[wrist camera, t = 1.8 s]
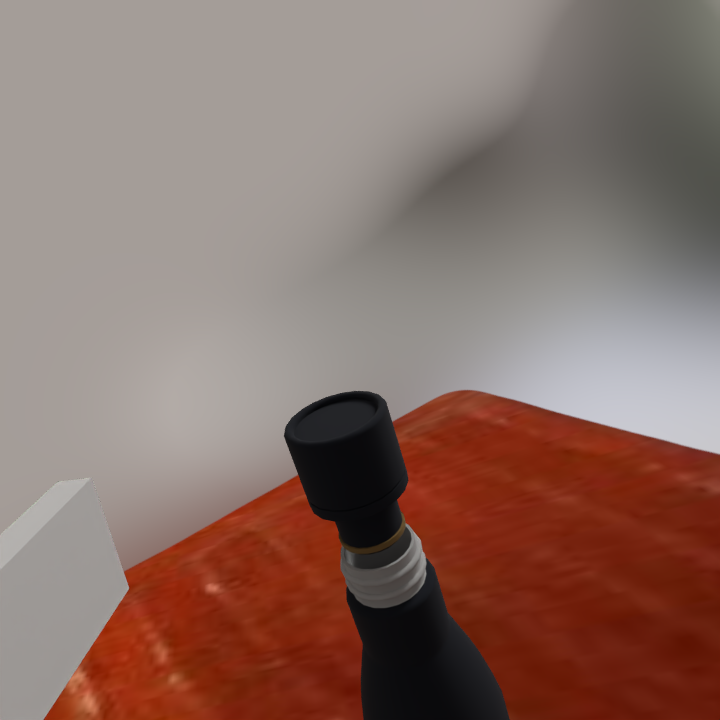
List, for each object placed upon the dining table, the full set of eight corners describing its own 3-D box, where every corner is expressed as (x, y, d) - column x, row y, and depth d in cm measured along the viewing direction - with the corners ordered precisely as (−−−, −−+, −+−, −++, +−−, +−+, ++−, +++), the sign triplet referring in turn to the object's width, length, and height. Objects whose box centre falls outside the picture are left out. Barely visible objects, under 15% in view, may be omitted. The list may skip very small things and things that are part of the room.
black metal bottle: (571, 983, 30) (417, 447, 19) (437, 981, 31) (224, 481, 20) (550, 835, 35) (424, 361, 25) (438, 838, 37) (274, 392, 26)
